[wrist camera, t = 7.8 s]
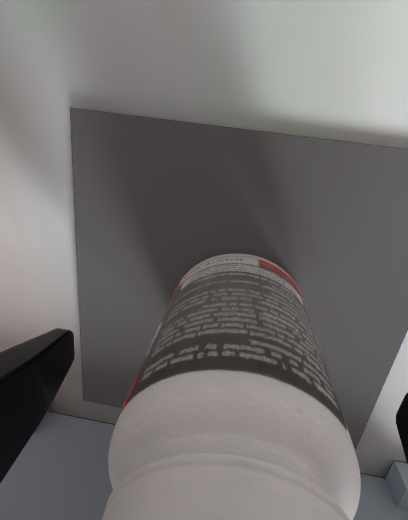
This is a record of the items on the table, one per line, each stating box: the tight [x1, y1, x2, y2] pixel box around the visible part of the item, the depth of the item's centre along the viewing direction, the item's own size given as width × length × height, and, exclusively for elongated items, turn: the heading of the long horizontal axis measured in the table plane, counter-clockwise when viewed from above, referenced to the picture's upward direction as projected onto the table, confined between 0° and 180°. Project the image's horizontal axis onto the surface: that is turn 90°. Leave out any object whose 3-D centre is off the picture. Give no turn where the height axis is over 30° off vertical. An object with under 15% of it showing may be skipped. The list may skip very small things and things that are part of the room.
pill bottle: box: [102, 254, 361, 520], centre depth 8 cm, size 5×5×8 cm
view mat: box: [70, 108, 408, 449], centre depth 12 cm, size 12×12×1 cm
